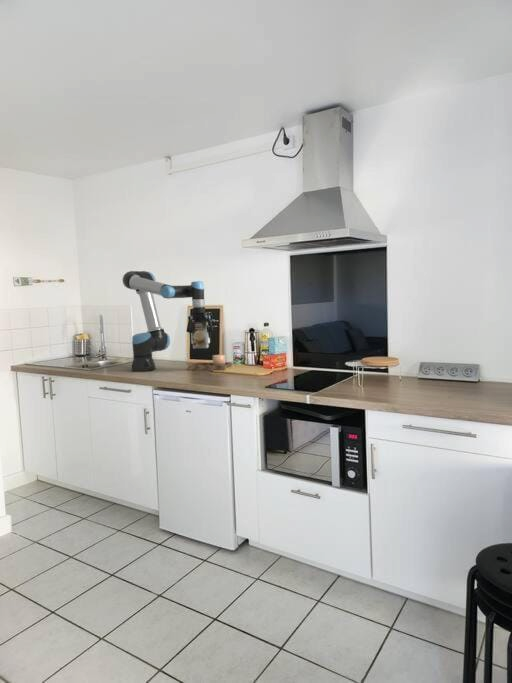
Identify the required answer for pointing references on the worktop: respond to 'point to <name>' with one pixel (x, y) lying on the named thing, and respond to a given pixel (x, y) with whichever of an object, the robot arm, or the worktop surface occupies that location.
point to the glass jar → (199, 334)
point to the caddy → (209, 366)
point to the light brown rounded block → (218, 360)
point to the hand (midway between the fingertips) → (200, 343)
